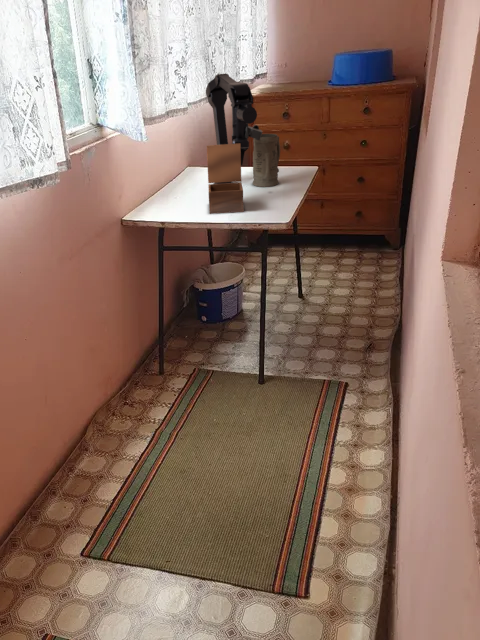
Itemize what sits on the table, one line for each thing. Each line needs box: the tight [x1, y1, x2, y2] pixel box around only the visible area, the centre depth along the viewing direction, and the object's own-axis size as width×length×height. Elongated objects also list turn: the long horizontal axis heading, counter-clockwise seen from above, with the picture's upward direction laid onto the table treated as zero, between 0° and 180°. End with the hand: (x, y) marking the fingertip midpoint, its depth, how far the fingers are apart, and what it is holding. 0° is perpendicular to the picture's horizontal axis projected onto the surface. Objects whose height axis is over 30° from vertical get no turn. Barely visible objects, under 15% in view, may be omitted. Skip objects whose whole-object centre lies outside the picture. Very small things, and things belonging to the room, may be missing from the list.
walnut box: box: [207, 181, 245, 215], centre depth 227 cm, size 13×13×8 cm
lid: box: [206, 143, 242, 184], centre depth 228 cm, size 13×13×1 cm
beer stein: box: [252, 133, 281, 188], centre depth 255 cm, size 15×11×20 cm
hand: (240, 162), depth 239 cm, fingers open, 9 cm apart
